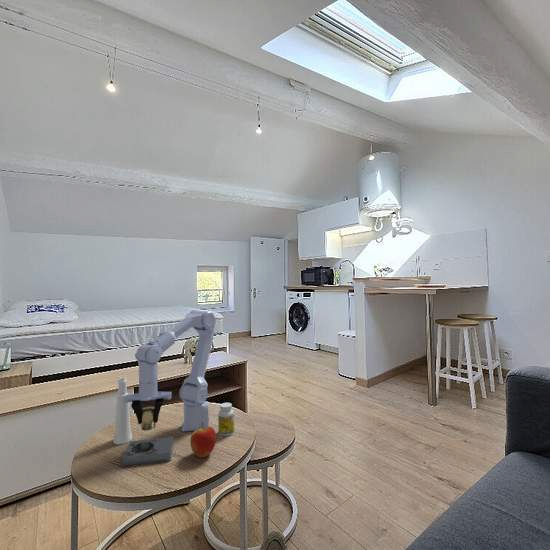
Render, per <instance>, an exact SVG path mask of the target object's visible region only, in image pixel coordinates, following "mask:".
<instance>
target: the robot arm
mask: <svg viewBox="0 0 550 550" xmlns="http://www.w3.org/2000/svg"><path fill="white" fill-rule="evenodd" d="M216 321H217V317H216V316H215V315H214V313H213V312H212V311H210V310H208V311H203V310H196V309H193V310H191V311H189V313H186V314H185V317H184V318H183V319H181V320H180V321H179V322H178V323H177V324H176V325H175V326H174V327H172V328H171V329H170V330H162V331H160V332H159V334H158V335H157V336H155V338H153V339H150V340H149V341H148V343H144V344H142V345H140V346H139V347H138V348H137V351H136V353H135V354H134V357H135V359H136V361H137V364H138V392H136V393H133V394H128V395H125V397H124V403H128V402H129V403H131V405H130V407H131V409H132V410H133V412H134V414H135V415H136V417H135V418H136V419H137V424H138V425H141V409H143V401H144V402H149V401H155V402H154V407H155V423H158V422H159V415H160V411H161V409H162V405H163V404H164V401H165V400H172V391H158V362H159V361H160V360H161V358H162V355H163V354H164V353H165V352H166V351H167V350H168V349H170V348H171V347H172V346H173V345H175V343H176V339H177V338H178V337H180V336H181V335H183V334H184V333H185V332H187V331H188V330H190V329H192V328H193V329H194V330H195V331H196V332H197V334H198V335H199V336H198V340H197V345H196V349H195V352H194V353H195V354H194V357H193V361H192V365H191V370H190V374H189V376H187V377H186V378H184V380H183V383H182V385H181V387H180V389H179V393H178V394H179V398H180V399H181V400H182V403H183V423H182V428H181V431H182V432H190V431H195V430H197V429H200V428H206V427H209V422H210V415H209V401H207V398H208V385H209V384H208V383H207V381H206V379H205V375H206V370H207V367H208V362H209V358H210V354H211V353H210V352H211V350H212V349H211V348H212V344H213V340H214V337H215V325H216ZM202 423H203V425H202Z"/></svg>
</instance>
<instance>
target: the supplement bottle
mask: <svg viewBox="0 0 550 550" xmlns="http://www.w3.org/2000/svg"><path fill="white" fill-rule="evenodd" d="M217 416H218V417H217V418H218V421H217V422H218V434H219V435H220V436H221V435H222V437H229V435H230V436H232V435H233V434H234V433H235V411H234V410H233V404H232V403H230V402H223V403H221V404H220V405H219V411H218V414H217Z"/></svg>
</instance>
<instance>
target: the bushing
mask: <svg viewBox="0 0 550 550" xmlns="http://www.w3.org/2000/svg"><path fill="white" fill-rule="evenodd" d="M155 428H156V423H155V406H145V407H142V409H141V424H140V429H141V430H142V431H150V430H154V429H155Z"/></svg>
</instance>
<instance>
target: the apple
mask: <svg viewBox="0 0 550 550" xmlns="http://www.w3.org/2000/svg"><path fill="white" fill-rule="evenodd" d="M202 425H203V423H202ZM189 442H190V448H191V450H192V453H193V454H194V455H195V456H197V457H199V458H206V457H207V456H209V455H210V454H211V453H212V452H213V450H214V449H215V446H216V442H217V435H216V432H215V429H214V427H211V426H208V427H206V428H200V429H197V430H193V432H192V433H191V435H190V440H189Z"/></svg>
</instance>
